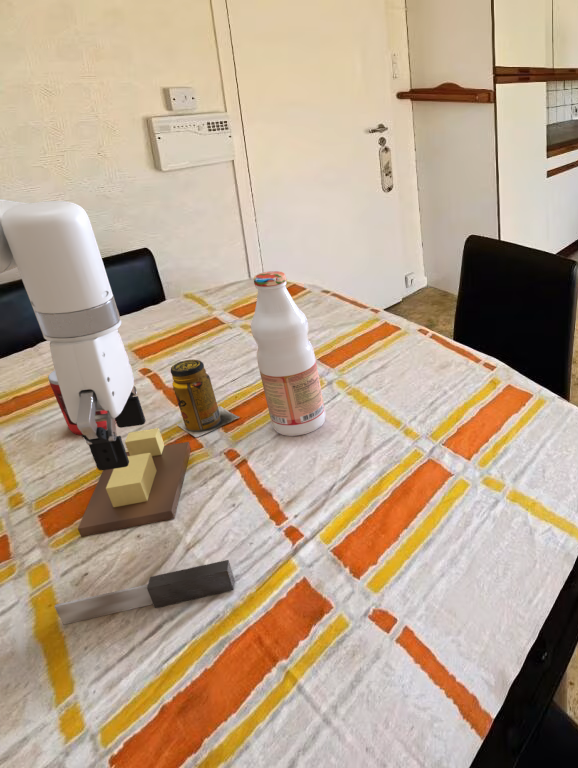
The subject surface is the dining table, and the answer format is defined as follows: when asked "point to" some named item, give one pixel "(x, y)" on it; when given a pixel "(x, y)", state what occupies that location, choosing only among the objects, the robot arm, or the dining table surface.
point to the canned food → (61, 403)
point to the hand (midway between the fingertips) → (123, 445)
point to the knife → (153, 592)
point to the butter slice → (145, 442)
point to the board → (155, 509)
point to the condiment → (197, 399)
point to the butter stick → (132, 481)
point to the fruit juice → (286, 358)
